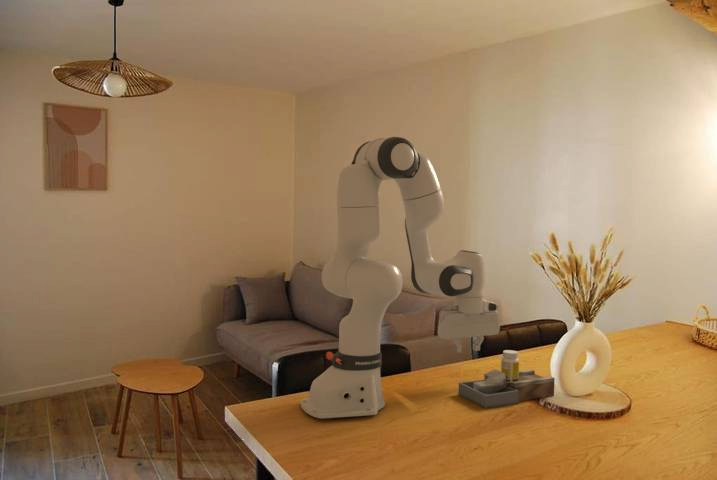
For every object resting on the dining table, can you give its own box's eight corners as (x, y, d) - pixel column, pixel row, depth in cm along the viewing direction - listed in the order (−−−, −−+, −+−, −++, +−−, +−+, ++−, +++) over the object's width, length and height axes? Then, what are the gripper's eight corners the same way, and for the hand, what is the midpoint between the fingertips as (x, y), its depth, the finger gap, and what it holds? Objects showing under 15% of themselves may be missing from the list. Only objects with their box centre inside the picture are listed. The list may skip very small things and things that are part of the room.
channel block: (514, 401, 146) (515, 383, 146) (493, 391, 154) (493, 374, 154) (554, 395, 152) (554, 377, 152) (531, 386, 160) (531, 369, 160)
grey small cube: (495, 391, 147) (493, 378, 146) (486, 387, 150) (483, 374, 150) (507, 386, 148) (504, 373, 148) (497, 382, 152) (495, 369, 151)
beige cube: (494, 399, 147) (482, 401, 145) (484, 394, 150) (473, 396, 148) (494, 384, 146) (482, 386, 145) (485, 380, 150) (473, 382, 148)
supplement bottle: (517, 379, 153) (518, 350, 153) (519, 384, 148) (520, 354, 148) (499, 378, 154) (500, 349, 154) (501, 383, 149) (502, 353, 149)
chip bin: (485, 408, 140) (485, 395, 140) (458, 394, 151) (458, 382, 151) (518, 403, 145) (518, 390, 145) (490, 390, 156) (490, 378, 156)
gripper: (445, 309, 153) (445, 357, 153) (503, 304, 161) (502, 350, 162) (433, 305, 159) (433, 352, 159) (490, 301, 167) (489, 345, 168)
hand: (468, 351), depth 161 cm, fingers open, 4 cm apart
